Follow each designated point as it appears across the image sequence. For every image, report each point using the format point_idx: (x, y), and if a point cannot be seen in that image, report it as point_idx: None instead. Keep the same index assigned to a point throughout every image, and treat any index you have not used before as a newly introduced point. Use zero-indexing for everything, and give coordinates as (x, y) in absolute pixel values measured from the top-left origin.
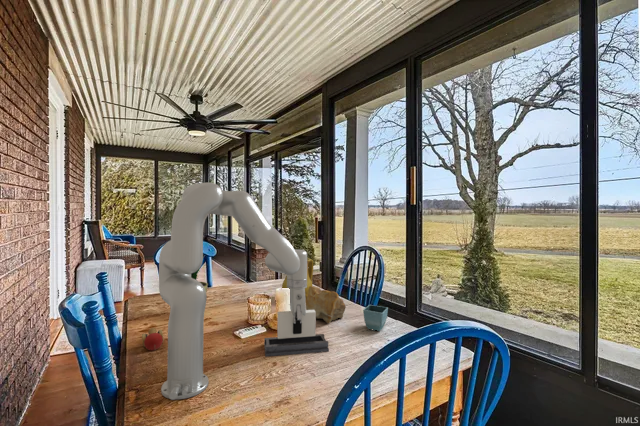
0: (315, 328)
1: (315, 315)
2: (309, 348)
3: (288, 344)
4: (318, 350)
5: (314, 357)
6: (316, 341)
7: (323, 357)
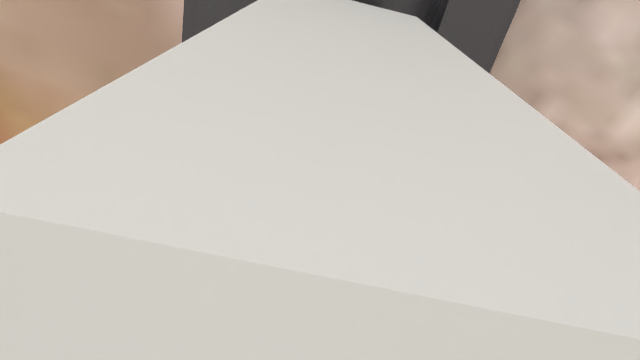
0: (446, 42)
1: (633, 206)
2: None
3: None
4: (511, 13)
5: (567, 97)
6: (451, 13)
7: (633, 10)
